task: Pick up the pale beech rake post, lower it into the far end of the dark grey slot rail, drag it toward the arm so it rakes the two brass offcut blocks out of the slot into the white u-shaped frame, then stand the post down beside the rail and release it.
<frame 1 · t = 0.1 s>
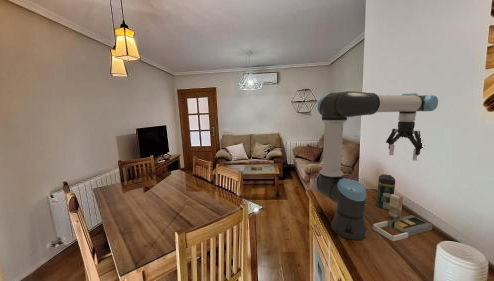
hand: (402, 157, 117), 28 cm above the sideboard top, fingers open, 13 cm apart
coffee jar: (384, 206, 117), on the sideboard top
white u-shaped frame: (389, 233, 92), on the sideboard top
chip a: (408, 227, 96), resting on slot rail
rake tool: (394, 219, 104), on the sideboard top
slot rail: (409, 228, 96), on the sideboard top
chip b: (400, 229, 94), resting on slot rail
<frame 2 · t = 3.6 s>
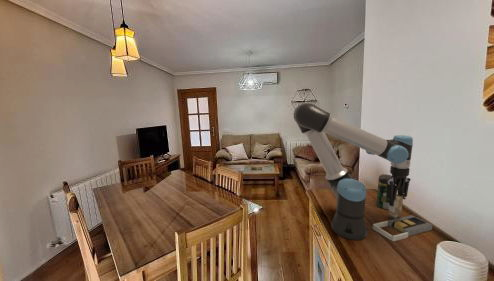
hand: (395, 210, 103), 5 cm above the sideboard top, fingers closed on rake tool, 4 cm apart
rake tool: (394, 219, 104), on the sideboard top, touching gripper
everything else where it was.
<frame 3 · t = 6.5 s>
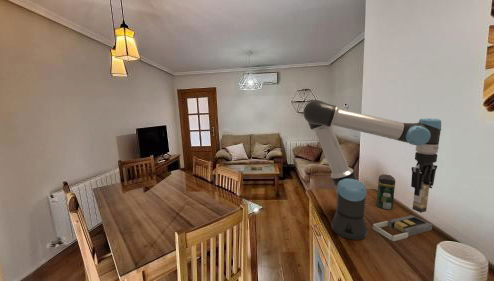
hand: (420, 200, 95), 13 cm above the sideboard top, fingers closed on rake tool, 4 cm apart
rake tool: (419, 210, 96), point 8 cm above the sideboard top, touching gripper
everything else where it was.
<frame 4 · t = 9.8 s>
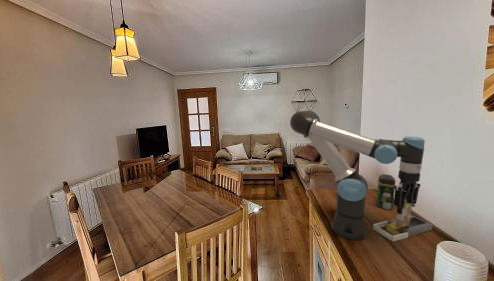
hand: (403, 218, 94), 5 cm above the sideboard top, fingers closed on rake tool, 4 cm apart
chip a: (397, 230, 94), resting on chip b, touching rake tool
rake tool: (401, 228, 95), point 1 cm above the sideboard top, touching chip a, gripper
chip b: (392, 232, 93), resting on white u-shaped frame, touching chip a
everything else where it was.
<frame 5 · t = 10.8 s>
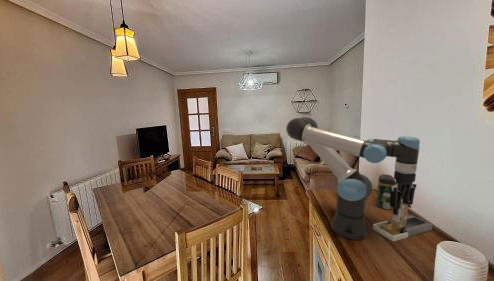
hand: (399, 219, 93), 6 cm above the sideboard top, fingers closed on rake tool, 4 cm apart
chip a: (393, 232, 93), resting on white u-shaped frame, touching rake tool
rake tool: (398, 229, 94), point 1 cm above the sideboard top, touching chip a, gripper
chip b: (388, 233, 92), resting on white u-shaped frame
everything else where it was.
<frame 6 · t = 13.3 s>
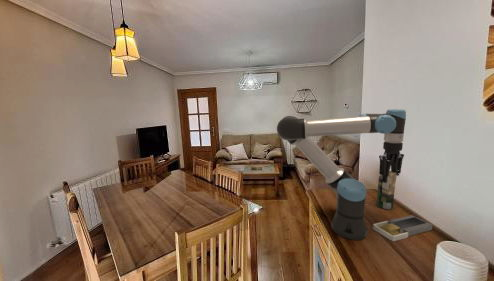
hand: (388, 187, 100), 17 cm above the sideboard top, fingers closed on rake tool, 4 cm apart
chip a: (393, 232, 93), resting on white u-shaped frame
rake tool: (387, 196, 101), point 13 cm above the sideboard top, touching gripper
everything else where it was.
when the fingers open (6 cm above the sideboard top, at t = 15.4 s): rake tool drops 1 cm, on the sideboard top.
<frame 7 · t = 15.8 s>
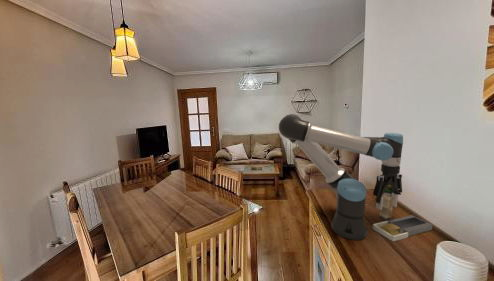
hand: (386, 207, 102), 7 cm above the sideboard top, fingers open, 9 cm apart
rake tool: (384, 220, 103), on the sideboard top
everything else where it was.
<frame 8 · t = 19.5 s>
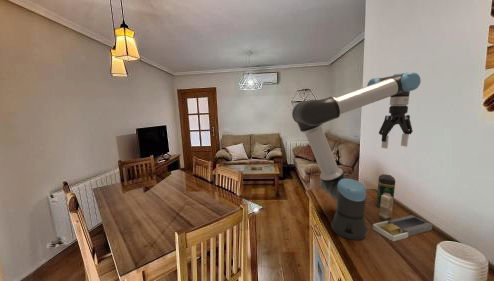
hand: (394, 147, 104), 37 cm above the sideboard top, fingers open, 13 cm apart
nothing on the sideboard top moved.
at the end: chip a inside the target area on the white u-shaped frame (1.9 cm from its centre), point 0.3 cm above the white u-shaped frame's base; chip b inside the target area on the white u-shaped frame (1.2 cm from its centre), point 0.3 cm above the white u-shaped frame's base; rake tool inside the target area (0.1 cm from its centre), on the sideboard top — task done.
